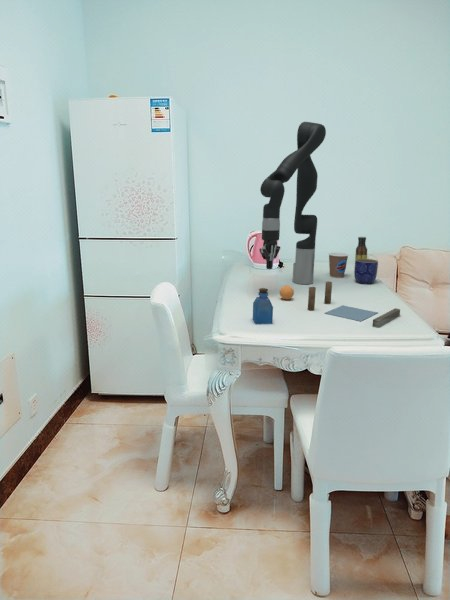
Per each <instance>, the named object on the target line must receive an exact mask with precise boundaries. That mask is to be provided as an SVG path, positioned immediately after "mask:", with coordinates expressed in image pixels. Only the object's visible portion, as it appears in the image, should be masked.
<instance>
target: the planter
mask: <svg viewBox="0 0 450 600" xmlns="http://www.w3.org/2000/svg"><path fill="white" fill-rule="evenodd" d="M378 267H379V261H378V260H377V259H373V258H371V259H370V258H367V259H356V260H355V259H354V270H353V271H354V272H353V274H354V276H353V277H354V279H355V281H356V283H359V284H362V285H370V284H373V283H374V282H375V281H376V279H377V275H378Z"/></svg>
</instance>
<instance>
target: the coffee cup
mask: <svg viewBox="0 0 450 600" xmlns="http://www.w3.org/2000/svg"><path fill="white" fill-rule="evenodd" d="M348 256H349V254H348V253H346V252H345V253H344V252H329V253H328V261H329V263H328V264H329V265H328V267H329V276H330V277H331V278H334V279H335V278H336V279H340V278H341V279H342V278H344V277H345V272H346V270H347V269H346V268H347V263H348Z"/></svg>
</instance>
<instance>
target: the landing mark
mask: <svg viewBox="0 0 450 600" xmlns="http://www.w3.org/2000/svg"><path fill="white" fill-rule="evenodd" d="M324 314H325V315H330V316H334V317H338V318H342V319H346V320H347V319H348V320H353V321H356V322H360V323H361V322H363V321H365V320H367V319H369V318H371V317H373V316H375V315H377V314H379V312H377V311H373V310H368V309H363V308H358V307H353V306H348V305H344V304H343V305H340V306H338V307H335V308H333V309H331V310H328V311H325V312H324Z"/></svg>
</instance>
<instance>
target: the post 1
mask: <svg viewBox="0 0 450 600" xmlns="http://www.w3.org/2000/svg"><path fill="white" fill-rule="evenodd" d="M316 290H317V288H316V287H315V286H309V287H308V299H307V311H315V306H316V305H315V304H316Z"/></svg>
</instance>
